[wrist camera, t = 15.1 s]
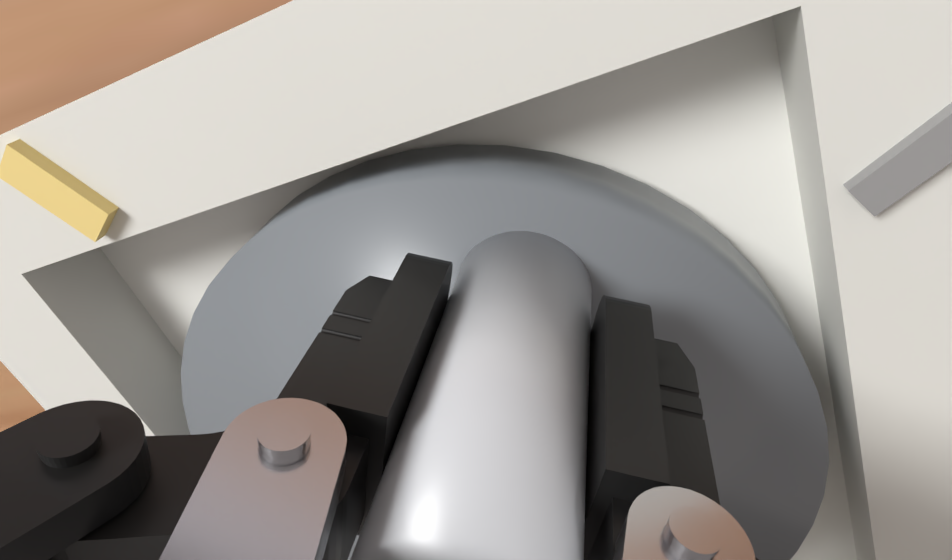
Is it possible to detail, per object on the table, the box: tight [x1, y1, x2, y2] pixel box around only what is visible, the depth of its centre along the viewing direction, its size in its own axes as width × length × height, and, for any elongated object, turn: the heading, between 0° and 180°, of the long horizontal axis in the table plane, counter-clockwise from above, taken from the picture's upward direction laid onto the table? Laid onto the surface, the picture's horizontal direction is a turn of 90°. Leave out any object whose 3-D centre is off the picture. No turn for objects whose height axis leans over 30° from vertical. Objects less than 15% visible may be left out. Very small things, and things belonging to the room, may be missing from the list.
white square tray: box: [0, 0, 952, 560], centre depth 15 cm, size 20×20×3 cm
